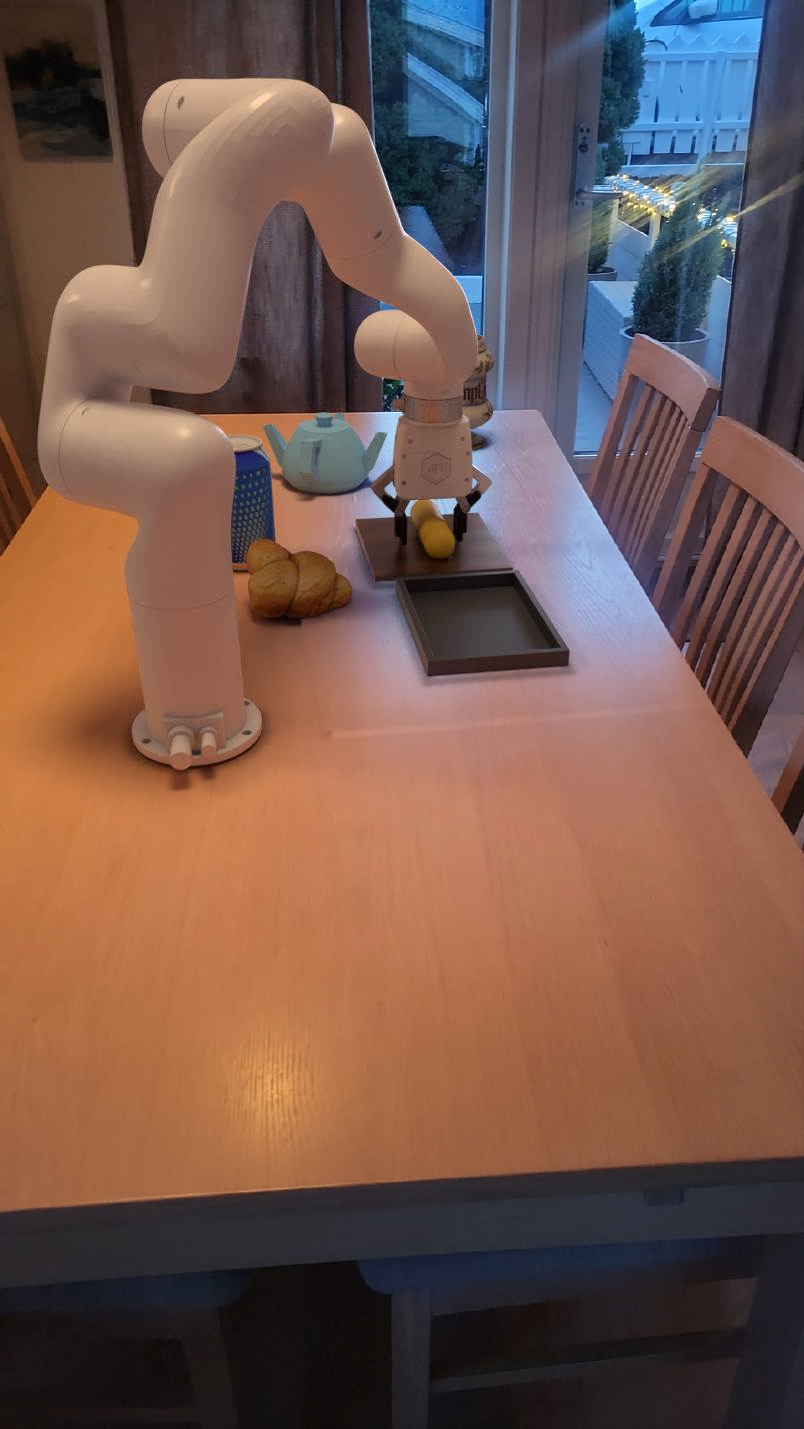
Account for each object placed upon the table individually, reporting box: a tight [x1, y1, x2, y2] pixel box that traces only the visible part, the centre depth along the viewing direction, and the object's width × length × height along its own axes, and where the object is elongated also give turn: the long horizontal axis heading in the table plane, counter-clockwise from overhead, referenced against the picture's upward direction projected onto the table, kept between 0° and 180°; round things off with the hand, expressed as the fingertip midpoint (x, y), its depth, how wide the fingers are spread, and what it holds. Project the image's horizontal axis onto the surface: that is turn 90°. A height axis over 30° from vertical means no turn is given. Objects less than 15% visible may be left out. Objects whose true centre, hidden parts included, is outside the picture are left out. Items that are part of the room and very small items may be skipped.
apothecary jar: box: [463, 333, 495, 451], centre depth 177 cm, size 12×12×18 cm
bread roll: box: [246, 538, 353, 619], centre depth 123 cm, size 13×10×8 cm
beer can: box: [226, 434, 277, 571], centre depth 133 cm, size 8×8×16 cm
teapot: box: [262, 412, 388, 495], centre depth 162 cm, size 15×15×11 cm
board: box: [354, 512, 514, 582], centre depth 140 cm, size 20×18×2 cm
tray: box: [395, 569, 571, 677], centre depth 119 cm, size 22×16×3 cm
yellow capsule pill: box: [409, 499, 455, 559], centre depth 138 cm, size 15×4×4 cm, turn 9°
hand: (430, 538), depth 139 cm, fingers open, 7 cm apart
